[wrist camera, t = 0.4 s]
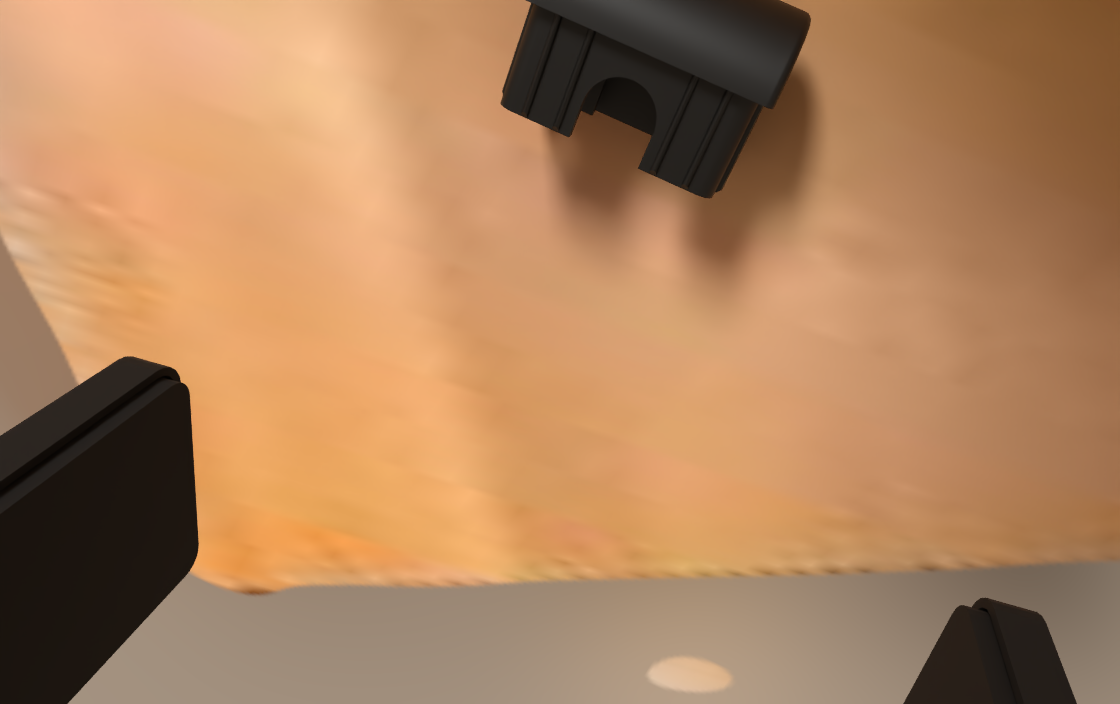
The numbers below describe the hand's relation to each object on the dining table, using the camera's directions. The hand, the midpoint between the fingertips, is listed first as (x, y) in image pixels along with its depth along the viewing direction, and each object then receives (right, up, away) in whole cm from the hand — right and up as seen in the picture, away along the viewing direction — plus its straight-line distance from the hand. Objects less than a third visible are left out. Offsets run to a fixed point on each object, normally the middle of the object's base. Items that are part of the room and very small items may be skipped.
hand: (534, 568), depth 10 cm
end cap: (+5, +16, +26) cm, 31 cm away
